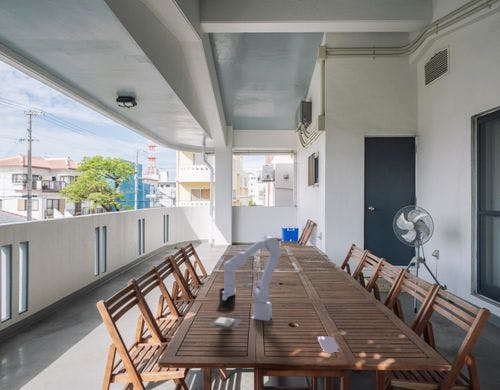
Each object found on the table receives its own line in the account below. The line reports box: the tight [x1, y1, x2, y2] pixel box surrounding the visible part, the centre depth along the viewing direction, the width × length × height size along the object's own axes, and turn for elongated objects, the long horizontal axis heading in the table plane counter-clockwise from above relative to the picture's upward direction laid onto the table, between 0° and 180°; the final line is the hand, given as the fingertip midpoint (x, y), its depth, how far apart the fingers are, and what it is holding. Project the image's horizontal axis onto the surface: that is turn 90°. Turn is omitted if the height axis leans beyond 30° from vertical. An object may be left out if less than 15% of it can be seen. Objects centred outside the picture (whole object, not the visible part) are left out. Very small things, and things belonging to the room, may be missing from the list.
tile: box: [215, 316, 235, 327], centre depth 170 cm, size 8×1×7 cm
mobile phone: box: [317, 335, 340, 354], centre depth 148 cm, size 8×1×15 cm
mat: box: [208, 315, 243, 330], centre depth 171 cm, size 14×13×1 cm
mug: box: [218, 287, 236, 308], centre depth 196 cm, size 9×12×9 cm
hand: (229, 309), depth 175 cm, fingers closed
